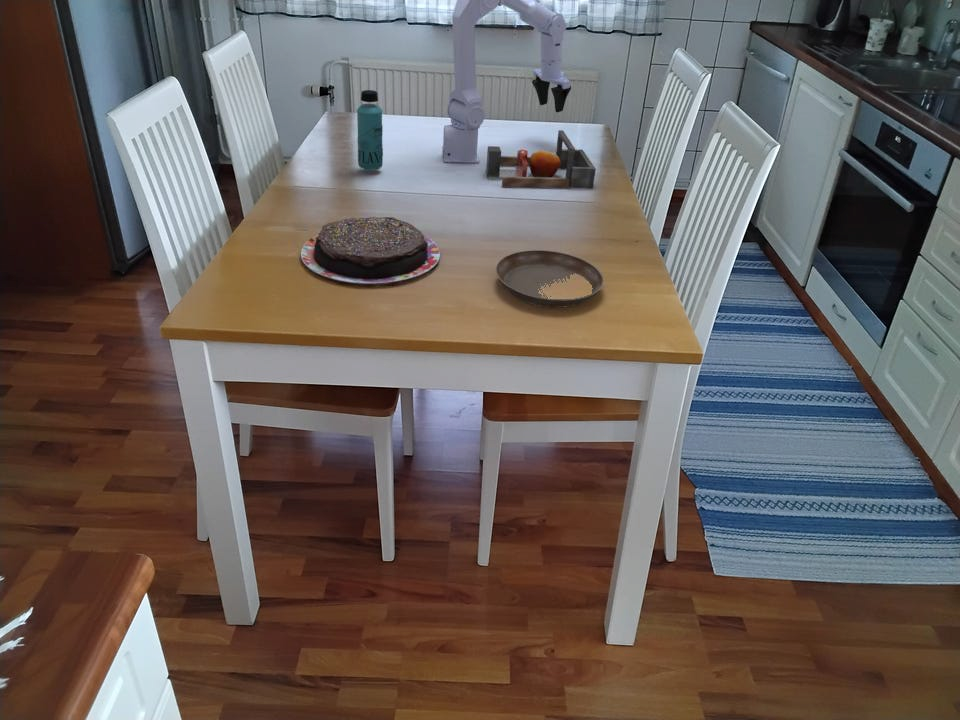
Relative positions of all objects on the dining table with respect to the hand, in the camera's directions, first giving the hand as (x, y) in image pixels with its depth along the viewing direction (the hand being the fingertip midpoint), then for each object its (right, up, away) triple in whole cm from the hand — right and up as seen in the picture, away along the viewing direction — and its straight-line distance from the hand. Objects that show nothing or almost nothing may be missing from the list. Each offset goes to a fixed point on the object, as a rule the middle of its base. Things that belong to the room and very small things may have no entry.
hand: (551, 107), depth 215 cm
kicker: (-14, -24, -19) cm, 33 cm away
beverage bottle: (-49, -24, -22) cm, 58 cm away
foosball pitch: (-4, -24, -18) cm, 30 cm away
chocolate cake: (-42, -52, -63) cm, 92 cm away
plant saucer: (-7, -59, -70) cm, 92 cm away
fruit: (-4, -24, -18) cm, 30 cm away
